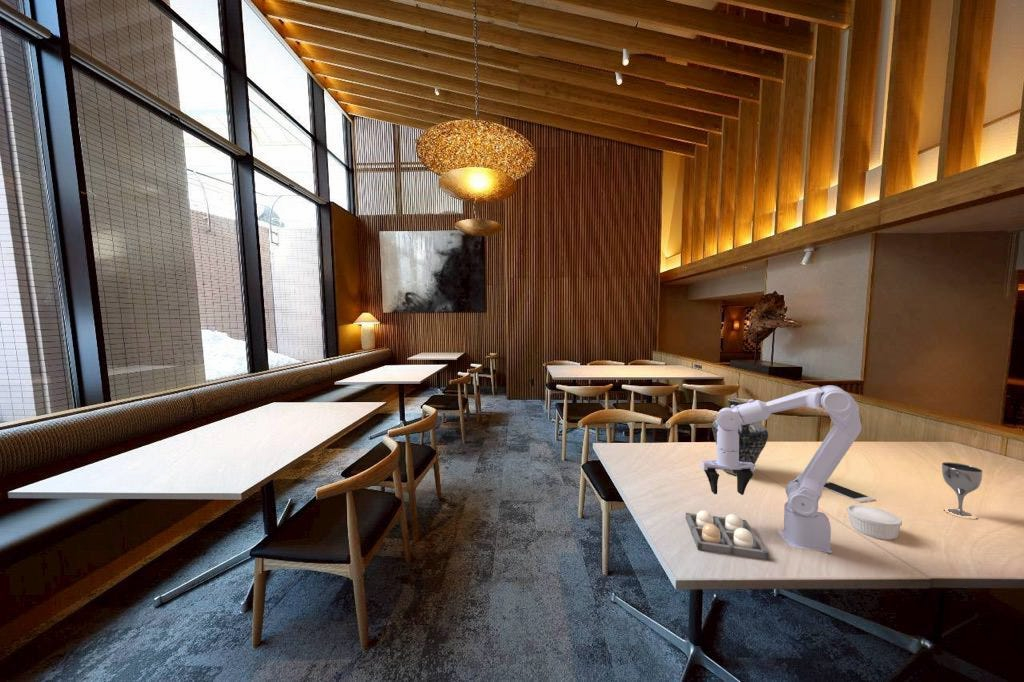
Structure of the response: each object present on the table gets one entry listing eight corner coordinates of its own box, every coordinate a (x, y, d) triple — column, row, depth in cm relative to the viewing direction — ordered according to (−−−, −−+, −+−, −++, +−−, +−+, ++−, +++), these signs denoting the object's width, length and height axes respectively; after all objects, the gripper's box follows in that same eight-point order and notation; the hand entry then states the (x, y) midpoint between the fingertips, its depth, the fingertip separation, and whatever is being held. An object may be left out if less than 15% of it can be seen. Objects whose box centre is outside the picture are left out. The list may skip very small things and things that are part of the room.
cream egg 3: (749, 543, 97) (749, 525, 97) (755, 553, 93) (756, 534, 93) (731, 541, 98) (731, 523, 98) (736, 550, 94) (736, 532, 94)
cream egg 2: (740, 528, 104) (740, 511, 104) (745, 537, 100) (745, 519, 100) (723, 526, 106) (723, 509, 105) (727, 534, 101) (727, 517, 101)
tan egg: (708, 536, 101) (708, 518, 100) (723, 544, 97) (724, 526, 97) (698, 540, 99) (698, 523, 98) (713, 549, 95) (714, 530, 95)
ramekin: (845, 517, 112) (845, 500, 112) (897, 529, 105) (897, 512, 105) (848, 533, 103) (848, 515, 103) (905, 547, 96) (905, 528, 96)
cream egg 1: (711, 525, 106) (711, 508, 106) (715, 533, 102) (715, 516, 102) (694, 523, 108) (694, 506, 107) (698, 530, 103) (698, 513, 103)
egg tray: (745, 528, 106) (745, 520, 106) (768, 562, 90) (768, 553, 90) (685, 520, 110) (685, 512, 110) (697, 551, 95) (697, 542, 95)
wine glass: (935, 510, 115) (937, 464, 115) (946, 505, 118) (948, 460, 118) (974, 522, 108) (976, 473, 107) (985, 517, 111) (987, 469, 111)
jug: (705, 461, 159) (705, 394, 158) (753, 464, 155) (754, 395, 154) (722, 480, 139) (723, 404, 138) (779, 485, 135) (780, 405, 134)
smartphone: (860, 504, 121) (860, 501, 121) (812, 484, 136) (812, 482, 136) (876, 501, 122) (876, 498, 122) (827, 483, 137) (827, 480, 137)
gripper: (745, 444, 111) (744, 487, 111) (696, 443, 112) (696, 486, 113) (759, 452, 104) (758, 498, 104) (707, 451, 105) (707, 497, 105)
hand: (727, 493), depth 108 cm, fingers open, 7 cm apart
